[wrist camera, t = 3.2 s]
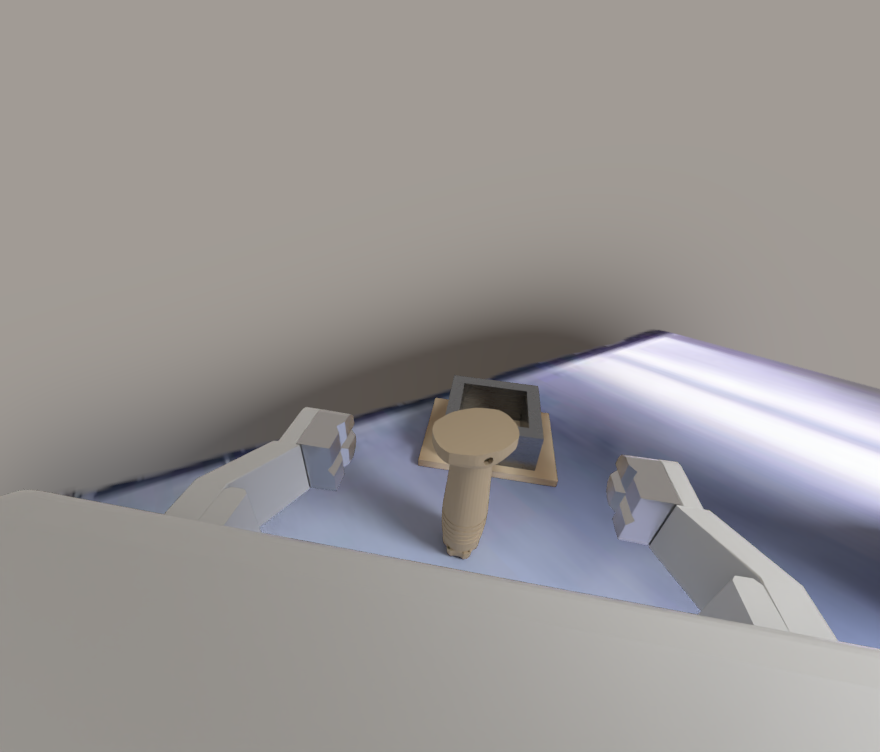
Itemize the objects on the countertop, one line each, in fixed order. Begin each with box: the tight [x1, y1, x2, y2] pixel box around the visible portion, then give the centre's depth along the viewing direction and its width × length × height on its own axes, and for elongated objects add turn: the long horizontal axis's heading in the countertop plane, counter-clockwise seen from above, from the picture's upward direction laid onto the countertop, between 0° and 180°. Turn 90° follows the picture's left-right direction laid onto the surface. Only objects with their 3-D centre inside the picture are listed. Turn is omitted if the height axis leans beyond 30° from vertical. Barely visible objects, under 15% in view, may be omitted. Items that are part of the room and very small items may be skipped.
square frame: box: [445, 375, 544, 471], centre depth 46 cm, size 11×10×5 cm
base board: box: [418, 398, 558, 487], centre depth 47 cm, size 16×12×1 cm
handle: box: [432, 408, 519, 559], centre depth 31 cm, size 5×6×15 cm
